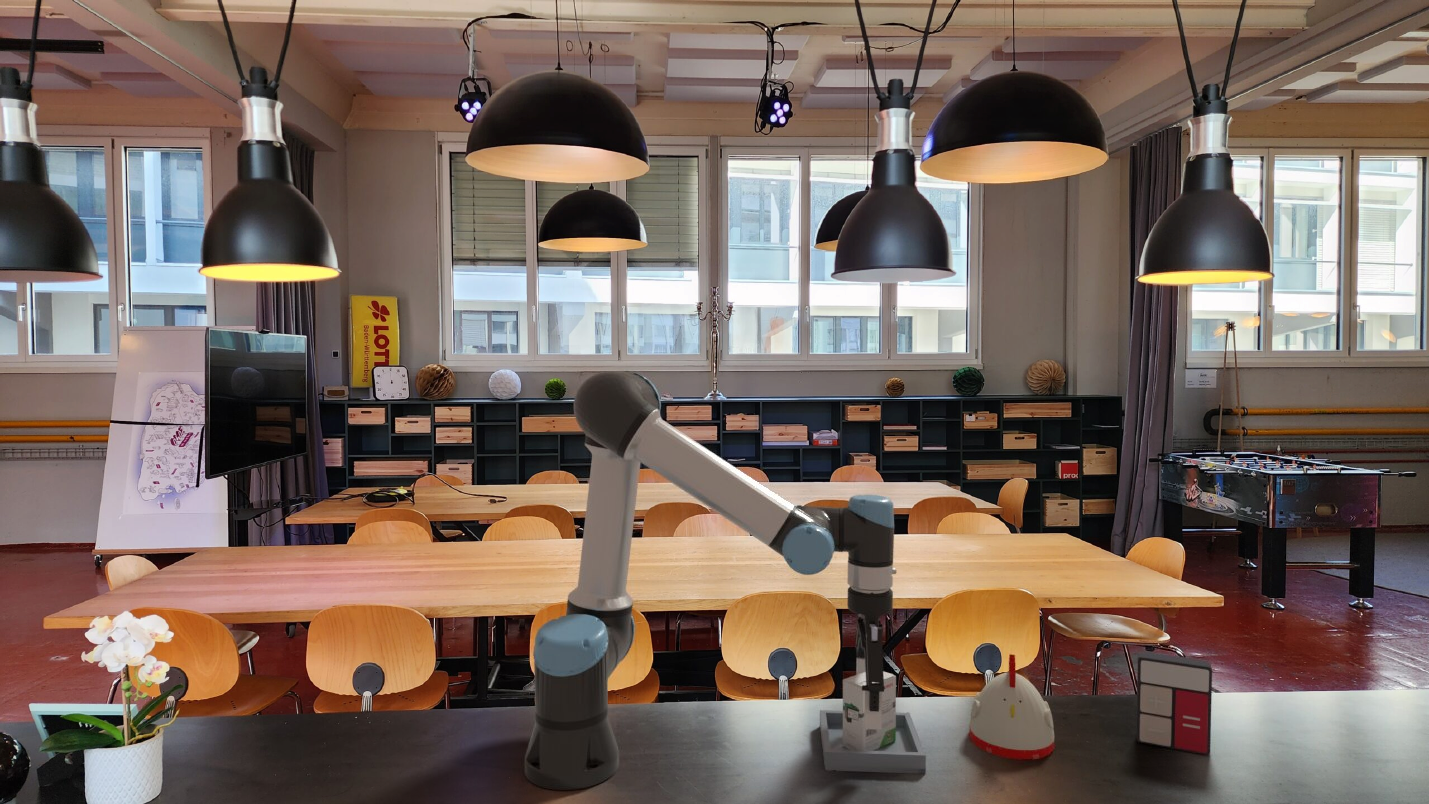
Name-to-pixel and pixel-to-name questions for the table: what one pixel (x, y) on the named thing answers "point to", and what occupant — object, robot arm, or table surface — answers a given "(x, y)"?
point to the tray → (889, 758)
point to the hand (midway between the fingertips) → (868, 710)
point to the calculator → (1174, 702)
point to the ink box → (854, 714)
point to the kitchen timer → (1012, 718)
